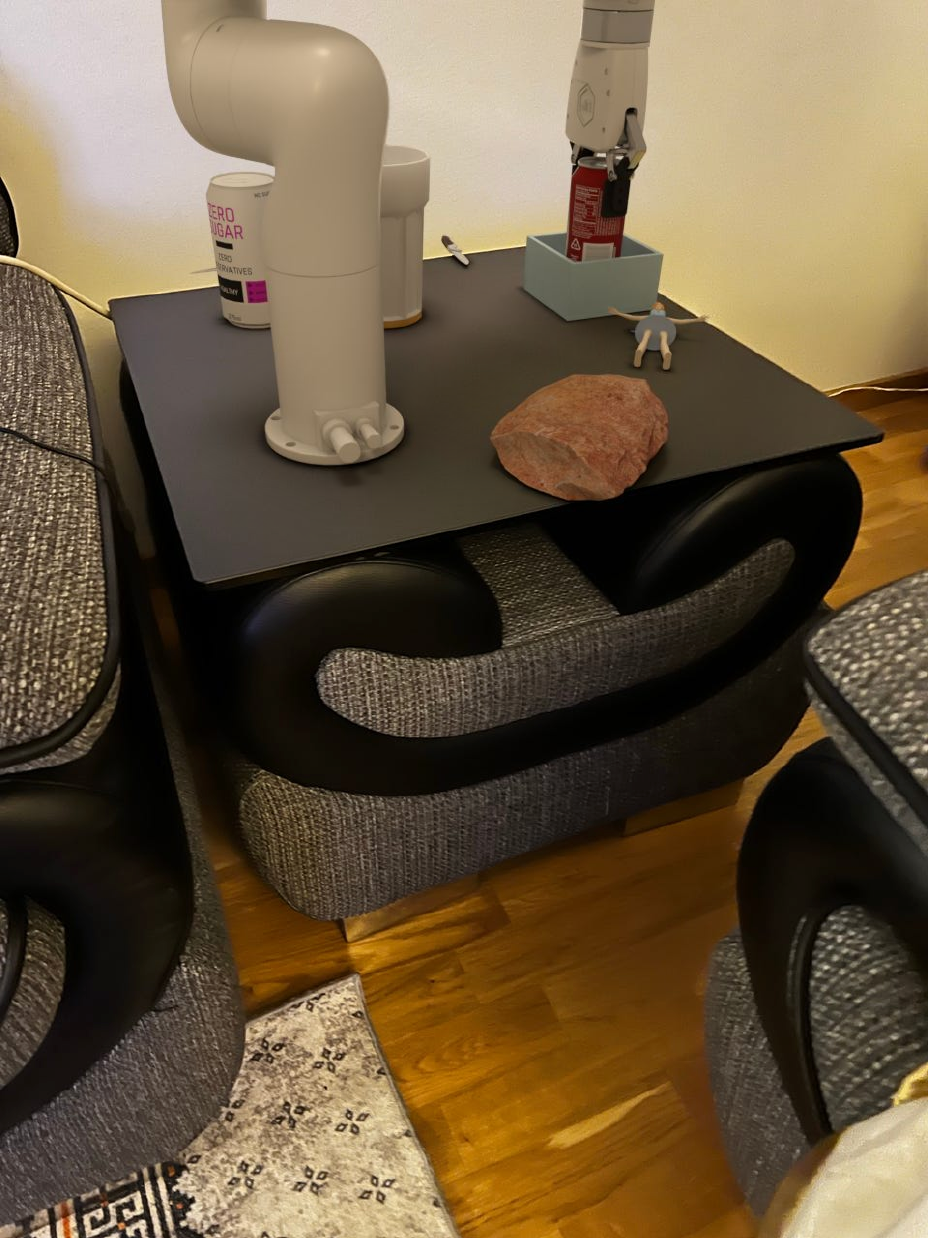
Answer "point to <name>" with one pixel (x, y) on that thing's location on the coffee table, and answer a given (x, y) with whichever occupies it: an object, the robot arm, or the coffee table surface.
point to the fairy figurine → (655, 332)
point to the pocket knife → (453, 248)
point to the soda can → (591, 215)
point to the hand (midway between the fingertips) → (597, 206)
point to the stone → (583, 436)
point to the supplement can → (240, 244)
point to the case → (591, 278)
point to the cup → (403, 232)
